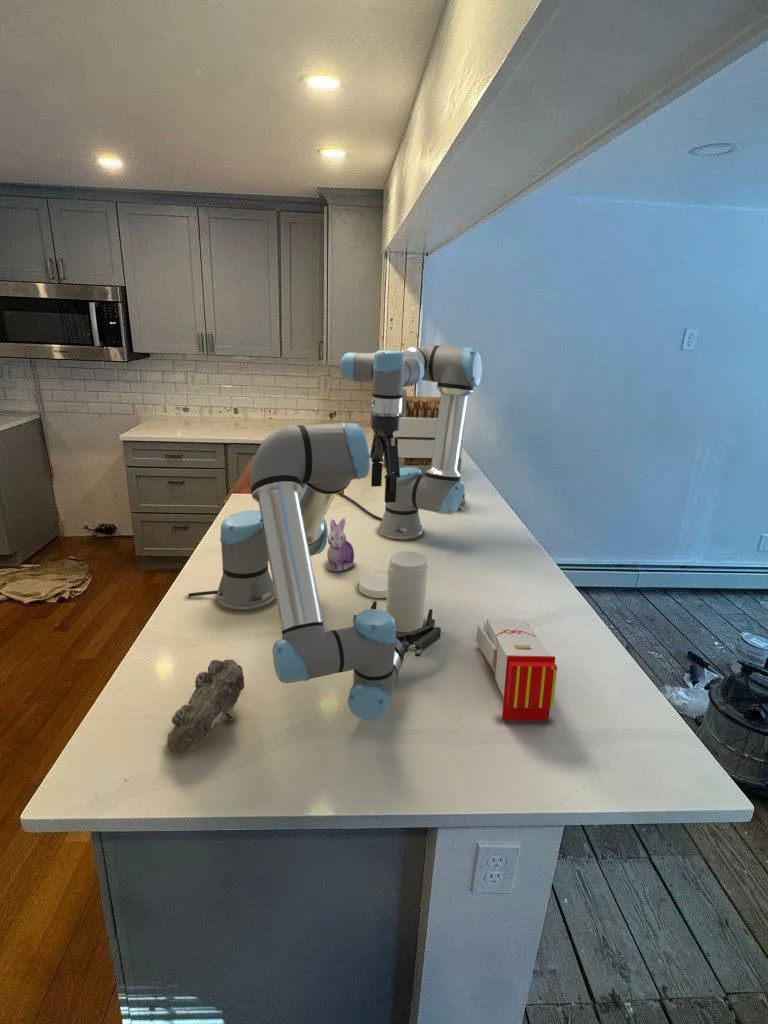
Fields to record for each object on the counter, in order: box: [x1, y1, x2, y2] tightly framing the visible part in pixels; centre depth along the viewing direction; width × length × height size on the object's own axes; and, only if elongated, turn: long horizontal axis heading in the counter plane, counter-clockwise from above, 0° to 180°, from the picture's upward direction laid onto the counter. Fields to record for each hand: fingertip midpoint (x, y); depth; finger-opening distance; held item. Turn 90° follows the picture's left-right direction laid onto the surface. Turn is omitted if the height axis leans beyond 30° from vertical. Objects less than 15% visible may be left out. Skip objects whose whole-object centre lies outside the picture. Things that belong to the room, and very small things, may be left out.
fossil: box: [166, 658, 245, 754], centre depth 106 cm, size 22×10×15 cm
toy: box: [475, 618, 558, 722], centre depth 122 cm, size 12×13×30 cm
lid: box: [358, 573, 388, 599], centre depth 160 cm, size 11×11×2 cm
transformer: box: [382, 388, 465, 475], centre depth 268 cm, size 34×33×41 cm
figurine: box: [326, 517, 355, 572], centre depth 171 cm, size 9×10×15 cm
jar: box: [385, 550, 428, 633], centre depth 141 cm, size 10×10×18 cm
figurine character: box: [457, 493, 466, 511], centre depth 229 cm, size 7×8×15 cm
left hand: (402, 610), depth 136 cm, fingers open, 13 cm apart
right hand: (382, 493), depth 151 cm, fingers open, 13 cm apart
